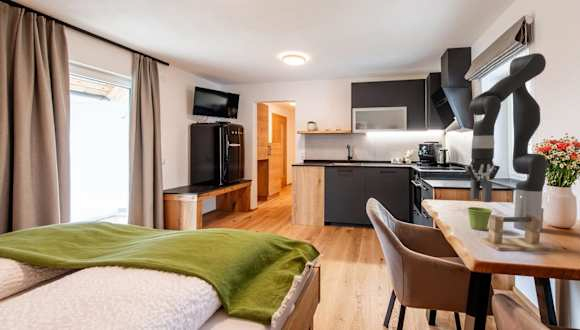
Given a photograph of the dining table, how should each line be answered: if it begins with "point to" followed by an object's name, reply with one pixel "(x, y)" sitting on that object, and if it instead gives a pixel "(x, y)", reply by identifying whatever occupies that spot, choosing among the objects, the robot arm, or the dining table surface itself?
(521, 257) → the dining table surface
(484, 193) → the rubber u
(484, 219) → the plant pot
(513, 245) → the bar rack
